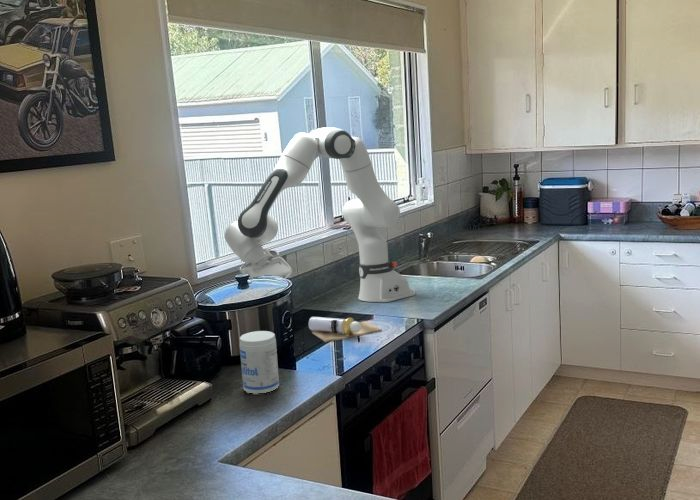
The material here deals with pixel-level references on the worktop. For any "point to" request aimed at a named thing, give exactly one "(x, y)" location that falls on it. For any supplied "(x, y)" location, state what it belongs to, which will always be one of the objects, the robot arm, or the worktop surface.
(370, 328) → the mat
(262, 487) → the worktop surface
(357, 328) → the perfume bottle
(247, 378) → the supplement tub
